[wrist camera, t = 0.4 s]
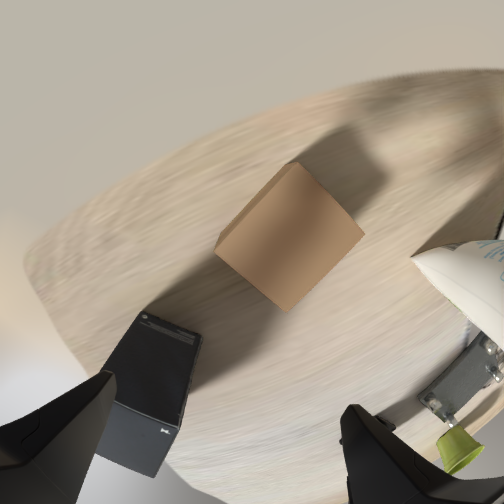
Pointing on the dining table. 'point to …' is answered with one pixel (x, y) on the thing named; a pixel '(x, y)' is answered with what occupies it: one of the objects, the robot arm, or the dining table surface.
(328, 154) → the dining table surface
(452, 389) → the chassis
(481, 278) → the pouch
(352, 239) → the brown block
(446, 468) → the plant pot
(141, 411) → the small box
